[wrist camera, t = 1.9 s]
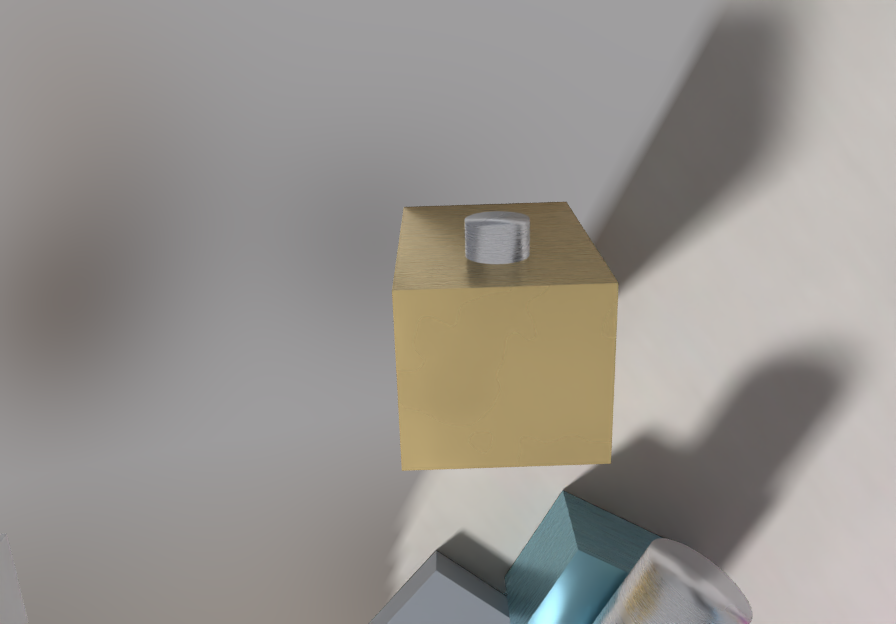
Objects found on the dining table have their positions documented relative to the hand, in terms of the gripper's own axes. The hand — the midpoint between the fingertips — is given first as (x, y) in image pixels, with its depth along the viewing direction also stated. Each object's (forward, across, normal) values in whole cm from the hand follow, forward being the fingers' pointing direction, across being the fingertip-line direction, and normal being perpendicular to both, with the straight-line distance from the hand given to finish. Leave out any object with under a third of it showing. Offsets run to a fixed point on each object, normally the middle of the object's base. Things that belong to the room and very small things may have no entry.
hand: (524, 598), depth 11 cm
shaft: (+14, +4, -10) cm, 17 cm away
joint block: (+14, 0, 0) cm, 14 cm away
